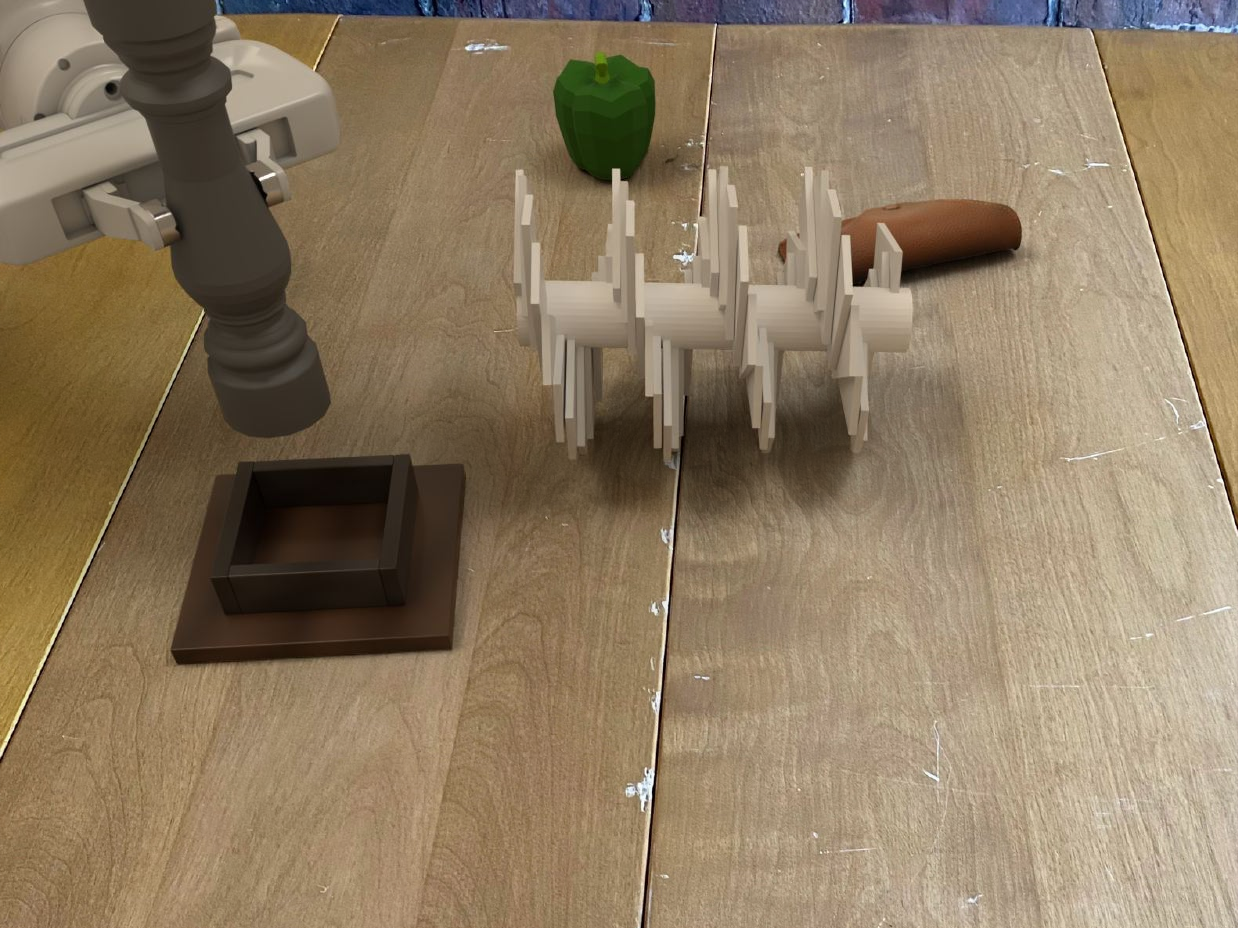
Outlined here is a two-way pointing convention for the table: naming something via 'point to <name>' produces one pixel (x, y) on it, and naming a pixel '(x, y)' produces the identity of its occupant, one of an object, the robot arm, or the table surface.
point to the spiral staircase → (710, 312)
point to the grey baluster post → (217, 216)
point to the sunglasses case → (930, 232)
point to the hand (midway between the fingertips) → (223, 211)
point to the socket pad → (324, 560)
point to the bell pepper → (605, 113)
